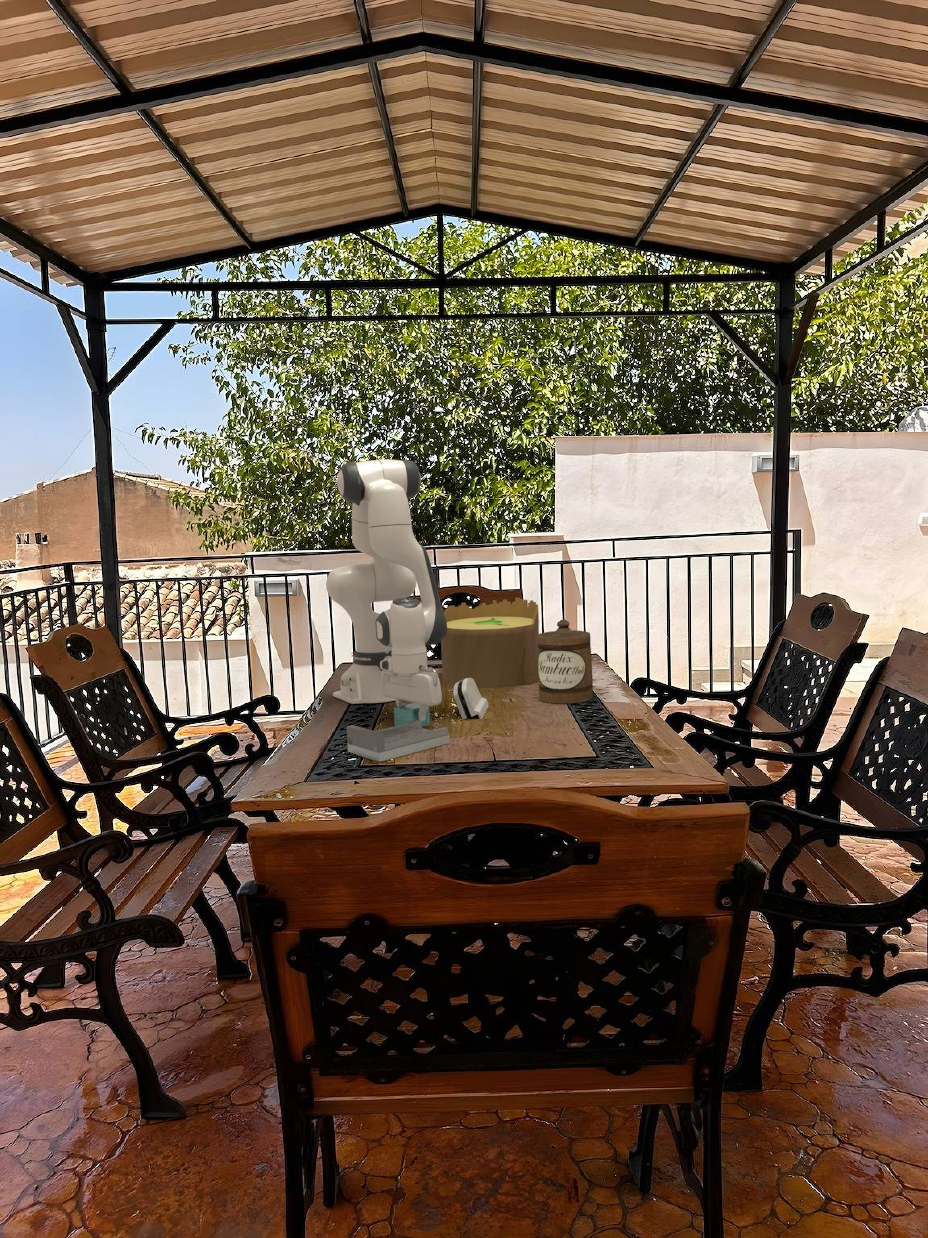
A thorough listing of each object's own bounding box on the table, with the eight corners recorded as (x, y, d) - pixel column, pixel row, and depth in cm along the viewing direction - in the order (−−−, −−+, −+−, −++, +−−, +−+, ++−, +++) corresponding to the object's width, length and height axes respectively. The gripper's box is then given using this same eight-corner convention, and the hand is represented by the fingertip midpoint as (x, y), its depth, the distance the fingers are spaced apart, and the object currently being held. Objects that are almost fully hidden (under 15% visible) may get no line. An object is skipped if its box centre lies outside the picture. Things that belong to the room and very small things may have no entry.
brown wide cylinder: (488, 665, 307) (485, 595, 304) (566, 676, 281) (564, 600, 278) (417, 680, 286) (413, 605, 283) (494, 693, 260) (491, 611, 257)
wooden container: (532, 703, 245) (529, 623, 242) (548, 692, 259) (545, 616, 256) (585, 705, 239) (583, 623, 237) (598, 694, 253) (596, 616, 250)
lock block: (394, 727, 225) (393, 707, 224) (418, 721, 230) (417, 702, 229) (408, 730, 221) (407, 710, 220) (431, 724, 226) (431, 705, 225)
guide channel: (347, 752, 203) (346, 726, 202) (417, 734, 216) (416, 710, 215) (379, 762, 194) (377, 735, 193) (449, 743, 207) (448, 717, 206)
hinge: (481, 719, 229) (467, 683, 228) (464, 725, 230) (450, 689, 229) (489, 704, 245) (475, 671, 245) (473, 710, 246) (459, 677, 246)
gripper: (446, 666, 217) (449, 722, 219) (395, 658, 233) (398, 710, 234) (426, 670, 213) (429, 727, 215) (375, 661, 229) (378, 714, 230)
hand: (412, 718), depth 225 cm, fingers open, 5 cm apart
